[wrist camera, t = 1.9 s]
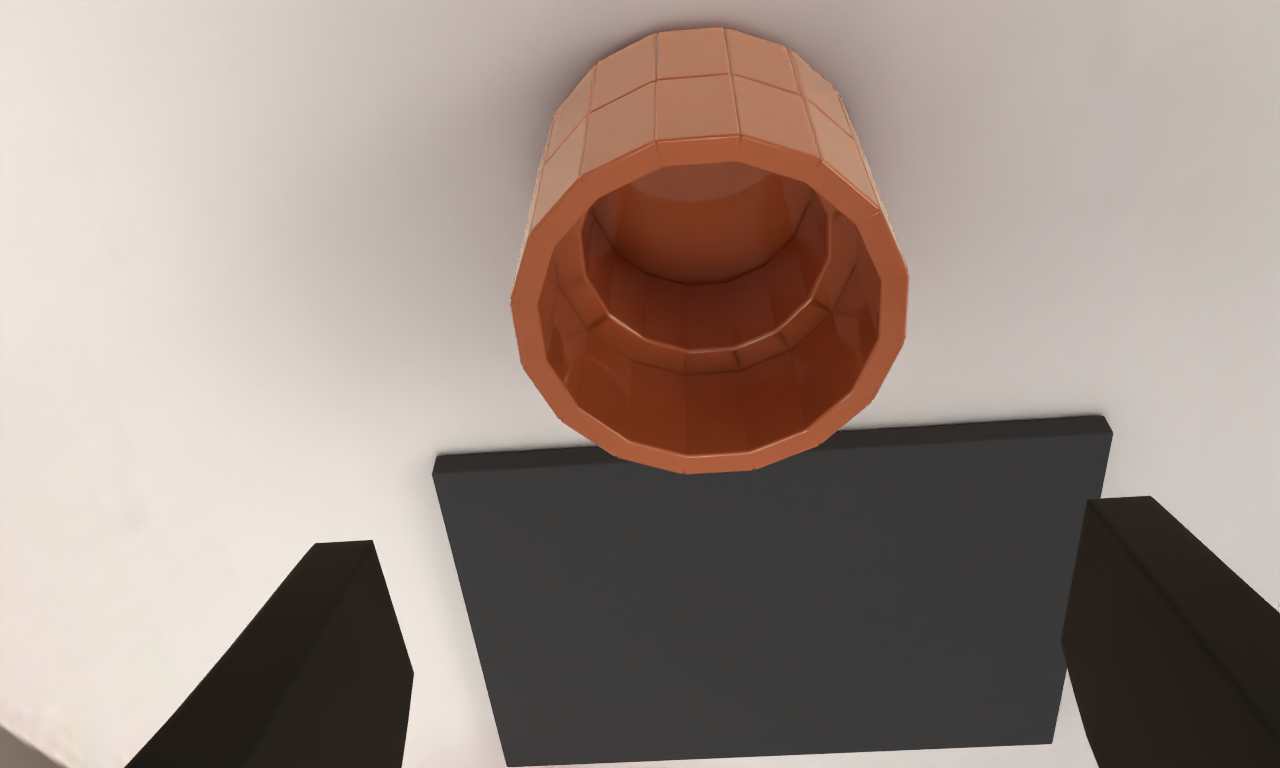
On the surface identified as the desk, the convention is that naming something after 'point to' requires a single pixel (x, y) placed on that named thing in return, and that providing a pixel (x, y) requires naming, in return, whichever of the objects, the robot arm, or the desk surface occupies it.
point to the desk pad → (776, 593)
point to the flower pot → (707, 258)
